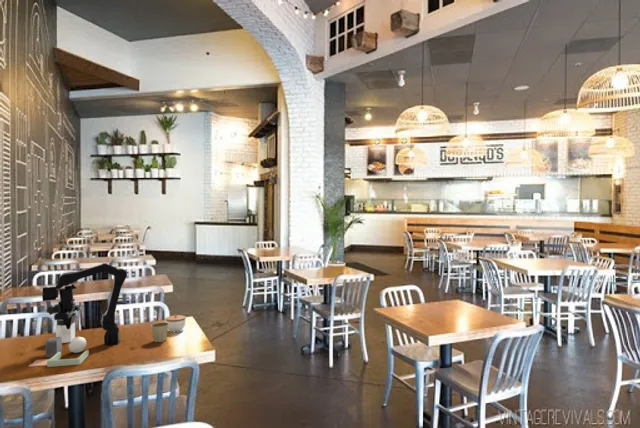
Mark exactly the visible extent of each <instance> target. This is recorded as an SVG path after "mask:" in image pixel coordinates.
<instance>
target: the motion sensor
mask: <svg viewBox="0 0 640 428" xmlns="http://www.w3.org/2000/svg"><path fill="white" fill-rule="evenodd" d="M67 346H68V347H67V348H68V350H69V351H70V352H71V353H74V354H78V353H81V352H83V351H85V349H86V347H87V340H86V338H84V337H83V336H75V338H73V339H72V342H69V344H68V345H67Z"/></svg>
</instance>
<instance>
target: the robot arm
mask: <svg viewBox="0 0 640 428" xmlns="http://www.w3.org/2000/svg"><path fill="white" fill-rule="evenodd" d="M104 272H105V273H107V274H109V275H111V276H113V285H112V290H111V293H110V298H109V302H108V305H107V310H106V312H105V313H102V314H101V315H102V316H101V318H100V325H101V328H102V329H103V330H104V331H105V332H104V335H103V338H104V339H103V342H104V346H110V345H111V346H112V345H113V346H116V345H118V344H119V343H120V342H121V339H120V329H119V325H118V324H117V323H115V321H116V314H115V313H116V310H117V305H118V301H119V297H120V294H121V290H122V287H123V286H124V283H125V281H126V278H127V277H128V273H127V271H126V270H125V269H124V268H123V267H122V268H121V267H116V266H113V265H110V264H108V263H106V262H104V263H101V264H98V265H95V266H92V267H89V268H85V269H82V270H77V271H71V272H69V271H68V272H63V273H61V274H60V275H59V278H58V282H57V283H56V284H55V286H43V287H42V295H41V297H42V302H47V301H56V300H57V298H59V300H60V301H58V303H57V304H56V305H54V306H53V305H50V306H48V307H47V309H46V313H48V314H49V315H50V316H51V315H53V320H54V321H57V320H60V319H62V320H63V321H64V323H65V325H66V328H67V329H70V327H71V325H72V322H73V320H74V321H75V317H76V315H77V313H76V312H75V313H74V311H77V312H80V311H81V307H80V305H79V304H75V303H74V302H75V301H76V299H75V298H74V292H73V290H77V288H78V286H76V285H75V284H74V283H76V282H77V281H79V280H81V279H84V278H87V277H90V276H94V275H96V274H101V273H104ZM74 304H75V305H74ZM54 314H55V315H54Z"/></svg>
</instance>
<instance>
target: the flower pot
mask: <svg viewBox="0 0 640 428" xmlns="http://www.w3.org/2000/svg"><path fill="white" fill-rule="evenodd" d="M168 325H169V323H166V322H156V323H152V324H150V328H151V331H152V332H151V333H152V338H153V342H154V343H158V342H159V343H163V342H166V340H167V339H168V338H167V337H168V330H169V329H168Z"/></svg>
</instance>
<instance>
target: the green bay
mask: <svg viewBox="0 0 640 428" xmlns="http://www.w3.org/2000/svg"><path fill="white" fill-rule="evenodd" d="M89 353H90V352H89V349H86V350H84V352H83V353H82V354H80V355H79V356H78V357H76V358H63V359H61V358H62V353H61V352H58V353H57V354H55V355H54V356H53V357H50V358H48V359H49V360H48V361H47V367H49V368H50V367H52V368H53V367H62V366H76V365H77V366H78V365H81V364H82V363H83V362H84V361H85V359H86V358H87V357H88V356H89V355H90V354H89Z"/></svg>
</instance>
